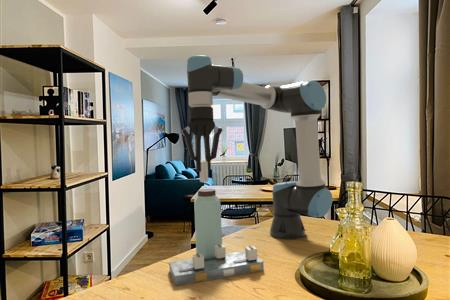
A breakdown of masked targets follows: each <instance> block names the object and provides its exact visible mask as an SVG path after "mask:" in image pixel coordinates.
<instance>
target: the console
mask: <svg viewBox="0 0 450 300" xmlns="http://www.w3.org/2000/svg"><path fill="white" fill-rule="evenodd" d="M168 265H169V273H170V275H171V278H172V281H173V283H174V285H175V287H177V286H182V285H189V284H194V283H199V282H201V283H202V282H206V281H212V280H217V279H223V278H228V277H235V276H240V275H241V276H242V275H246V274H247V275H248V274H251V273H259V272H263V271H264V270H265V269H264V268H265V267H264V265H265V264H264V261H263V260H262V259H261V258H259V256H257V259H256V260H250V261H249V260H248V259H247V258H246V257H245V250H241V251H236V252H229V253H226V257H224V258H216V256H215V255H214V256H208V257H204V268H200V269H195V268H194V267H193V258H189V259H182V260H175V261H169V262H168Z"/></svg>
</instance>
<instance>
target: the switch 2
mask: <svg viewBox="0 0 450 300" xmlns="http://www.w3.org/2000/svg"><path fill="white" fill-rule="evenodd" d="M226 251H227V250H226V246H225V245H224V244H223V243H222V245H220V244H218V245H215V256H216V258H224V257H226V254H227V253H226Z"/></svg>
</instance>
